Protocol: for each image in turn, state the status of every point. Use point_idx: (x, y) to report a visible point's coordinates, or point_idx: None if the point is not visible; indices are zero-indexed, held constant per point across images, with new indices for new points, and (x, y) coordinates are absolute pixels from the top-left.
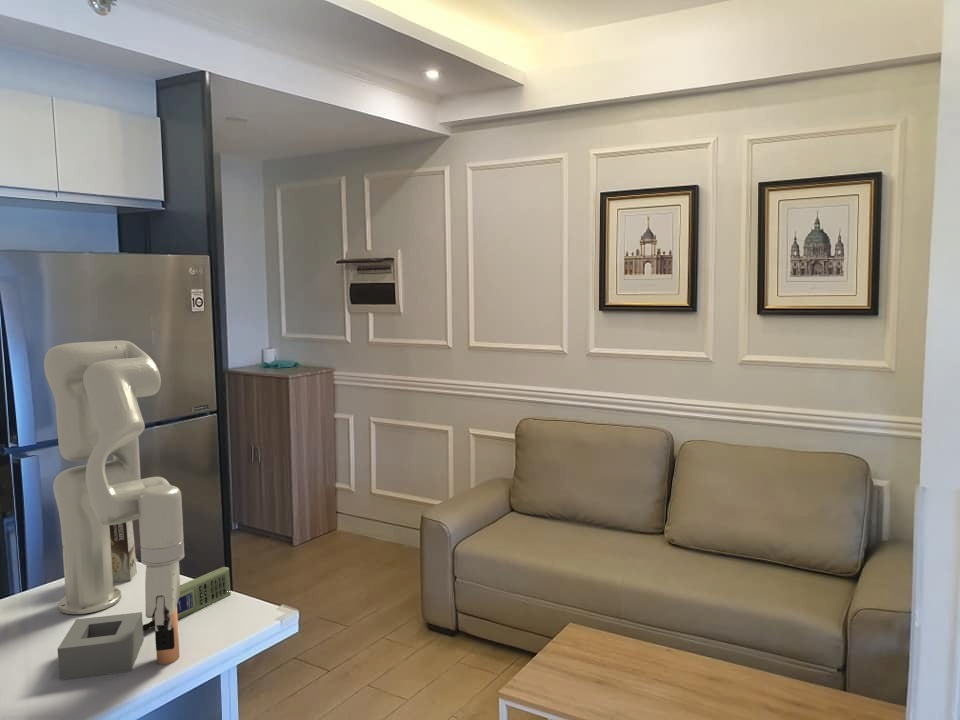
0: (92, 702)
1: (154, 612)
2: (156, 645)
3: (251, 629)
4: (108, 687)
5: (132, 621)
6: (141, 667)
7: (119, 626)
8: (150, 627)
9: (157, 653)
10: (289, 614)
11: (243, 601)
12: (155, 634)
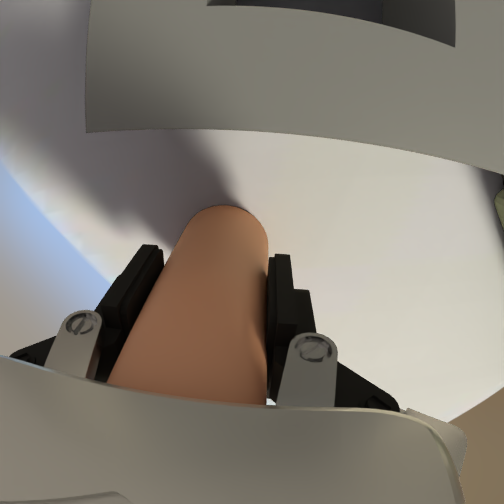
0: (5, 55)
1: (138, 387)
2: (135, 257)
3: None
4: (64, 65)
5: (417, 112)
6: (178, 150)
7: (435, 32)
8: (501, 174)
9: (192, 227)
10: None
11: (485, 392)
12: (111, 290)
